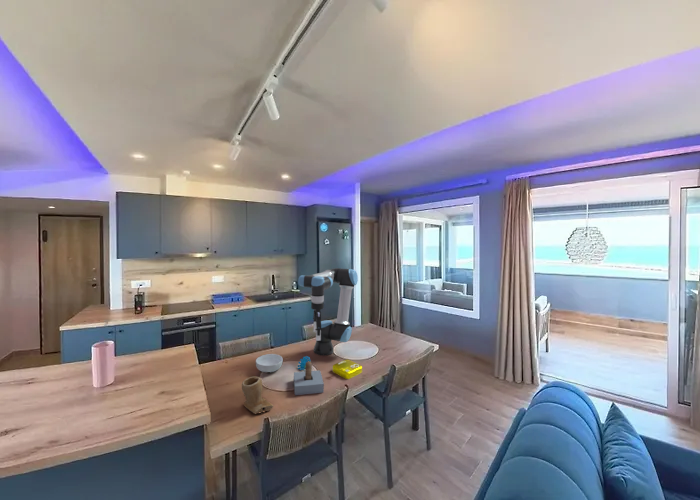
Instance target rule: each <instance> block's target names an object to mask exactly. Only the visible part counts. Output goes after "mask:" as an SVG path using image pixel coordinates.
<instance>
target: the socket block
mask: <svg viewBox="0 0 700 500" xmlns="http://www.w3.org/2000/svg"><path fill="white" fill-rule="evenodd" d="M323 379H324V378H323V375H322V372H321V370H318V369H317V370H312V371H311V380H305V371H294V372H293V390H294V396H300V395H313V394H321V393H323V394H324V388H325V383H324V380H323Z"/></svg>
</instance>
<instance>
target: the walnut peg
mask: <svg viewBox="0 0 700 500" xmlns="http://www.w3.org/2000/svg"><path fill="white" fill-rule="evenodd" d="M312 364H313V363H312V361H310V362H309V361H308V362H306V368H305V370H304V372H305V380H311V371H313V369H312V368H313V367H312Z"/></svg>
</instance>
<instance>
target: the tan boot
mask: <svg viewBox="0 0 700 500" xmlns="http://www.w3.org/2000/svg"><path fill="white" fill-rule="evenodd" d="M241 391H242V394H243V396H244V397H245V400H244V401H243V406H244V407H245V408H246V409H247V410H249V411H250V412H251V413H253V414H254V413H255V415H257V414H256V413H259V412H263V411H267V412H268V411H270V410H271V409H273V408H274V405H273V404H272V403H271V402H270V401H268V400H267V399H265V398H264V397H262V396H263V395H262V394H263V381H262V379H261V377H260V376H250V377H247V378H246V379H244V380H243V381H242V383H241Z"/></svg>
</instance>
